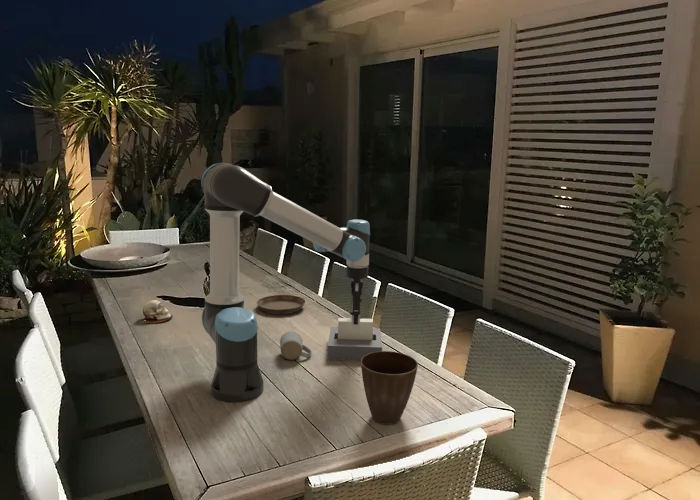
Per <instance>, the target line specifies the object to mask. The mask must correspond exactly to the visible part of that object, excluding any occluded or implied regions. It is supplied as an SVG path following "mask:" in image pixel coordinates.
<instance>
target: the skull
mask: <svg viewBox="0 0 700 500" xmlns="http://www.w3.org/2000/svg"><path fill="white" fill-rule="evenodd" d="M142 314H143V316H144V319H145V320H146V321H144V320H143V321H142V322H141V323H143V324H157V323H158V324H159V323H163V322H166V321H168V320H171V319H172V318H173V315H172V314H171V313H170V312H169V310H168V309H167V308H166V307H165V305H163V304H162V303H161V301H160V300H158V299H153V300H149V301H147V303H145V304H144V305H143V307H142Z"/></svg>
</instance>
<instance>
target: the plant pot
mask: <svg viewBox="0 0 700 500" xmlns="http://www.w3.org/2000/svg"><path fill="white" fill-rule="evenodd" d="M418 364H419V363H418V361H417V360H416V359H415V358H414V357H412V356H411V355H408V354H406V353H403V352H397V351H392V350H382V351H378V352H372V353H369V354H367V355H365V356H363V357H362V359H361V361H360V367H361V375H362V377H361V378H362V382H363V384H362V385H363V387H364V388H363V389H364V393H365V398H366V402H367V405H368V408H369V411H370V415H371V417H372V419H373V421H374V422H376V423H379V424H381V425H394V424H397V423H398V422H399V421H400V419H401V418H402V416H403V414H404V411H405V409H406V407H407V405H408V402H409V399H410V396H411V393H412V391H413V387H414V385H415V380H416V376H417V373H418V366H419V365H418Z"/></svg>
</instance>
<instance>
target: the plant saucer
mask: <svg viewBox="0 0 700 500" xmlns="http://www.w3.org/2000/svg"><path fill="white" fill-rule="evenodd" d="M305 304H306V300H305V299H304V298H303V297H301V296H297V295H292V294H291V295H290V294H276V295H274V294H273V295H268V296H264V297H262V298H259V299H258V300H257V301H256V305H257V306H258V307H259V309H260V310H262V311H263V312H264V313H268V314H271V315H288V313H289V314H292V313H293V312H294V313H296V312H298V311H300V310H301V309H302V308H303V307H304V305H305ZM294 313H293V314H294Z"/></svg>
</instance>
